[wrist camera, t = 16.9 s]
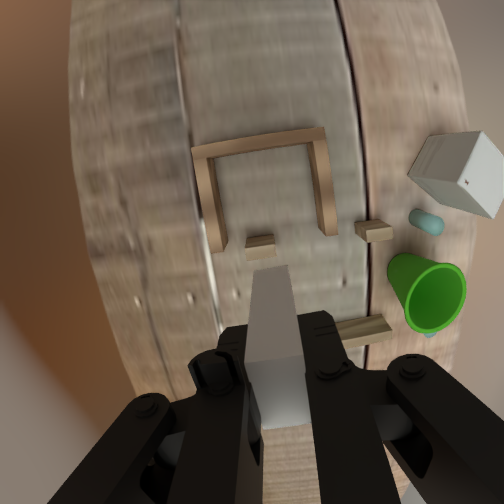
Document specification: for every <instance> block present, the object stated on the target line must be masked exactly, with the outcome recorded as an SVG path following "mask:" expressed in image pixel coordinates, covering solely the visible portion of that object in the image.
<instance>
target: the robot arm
mask: <svg viewBox="0 0 504 504" xmlns="http://www.w3.org/2000/svg"><path fill="white" fill-rule="evenodd" d="M188 368H189V371H190V373H191V376H192V378H193V381H194V383H195V386H196V388H197V391H196V394H195V395H193V396H191V397H188V398H186V399H182V400H178V401H175V402H171V403H170V402H169V400H168V399H167V398H166V396H165V395H162V394H159V393H147V394H143V395H141V396H139V397H137V398H135V399H133V400H132V401H131V402H130V403H129V404H128V405H127V406H126V408H125V409H124V410H123V411H122V412H121V414H120V415H119V416H118V417H117V419H116V420H115V421H114V422H113V423H112V425H111V426H110V427H109V428H108V430H107V431H106V432H105V433H104V434H103V436H102V437H101V438H100V439H99V441H98V442H97V443H96V444H95V446H94V447H93V448H92V449H91V451H90V452H89V453H88V454H87V455H86V457H85V458H84V459H83V460H82V462H81V463H80V464H79V465H78V466H77V468H76V469H75V470H74V471H73V472H72V474H71V475H70V476H69V477H68V479H67V480H66V481H65V482H64V483H63V485H62V486H61V487H60V488H59V490H58V491H57V492H56V493H55V495H54V496H53V497H52V498H51V499H50V501H49V502H48V503H47V504H262V494H263V451H264V443H263V439H262V435H261V423H262V426H263V430H264V429H273V428H281V427H289V426H296V425H303V424H309V423H312V430H313V438H314V446H315V454H316V462H317V470H318V479H319V488H320V497H321V504H401V501H400V498H399V494H398V491H397V487H396V484H395V481H394V477H393V474H392V471H391V468H390V464H389V461H388V458H387V455H386V452H385V449H384V446H383V444H384V445H385V446H386V448H387V449H388V451H389V452H390V453H391V455H392V456H393V458H394V459H395V460H396V462H397V463H398V465H399V466H400V467H401V469H402V470H403V471H404V473H405V474H406V476H407V477H408V478H409V480H410V481H411V483H412V484H413V485H414V487H415V488H416V489H417V491H418V492H419V494H420V495H421V496H422V498H423V499H424V501H425V502H426V503H427V504H504V421H503V420H502V419H501V418H500V417H499V416H497V415H496V414H495V413H494V412H493V411H492V410H491V409H490V408H488V407H487V406H486V405H485V404H484V403H483V402H481V401H480V400H479V399H478V398H477V397H476V396H475V395H473V394H472V393H471V392H470V391H469V390H468V389H466V388H465V387H464V386H463V385H462V384H461V383H459V382H458V381H457V380H456V379H455V378H454V377H452V376H451V375H450V374H449V373H448V372H446V371H445V370H444V369H443V368H442V367H441V366H439V365H438V364H437V363H436V362H435V361H433V360H432V359H430V358H429V357H427V356H425V355H420V354H406V355H403V356H400V357H397V358H396V359H394V360H393V361H391V363H390V364H389V366H388V367H387V370H365V369H361V368H359V367H357V366H355V364H354V363H353V362H352V361H351V360H349V359H348V357H347V354H346V351H345V349H344V346H343V343H342V341H341V338H340V335H339V333H338V330H337V327H336V325H335V322H334V319H333V317H332V316H331V315H330V314H329V313H327V312H326V311H324V310H322V311H317V312H312V313H306V314H301V315H297V314H296V308H295V303H294V297H293V292H292V286H291V281H290V276H289V270H288V265H284V266H278V267H273V268H267V269H262V270H256V271H254V274H253V284H252V293H251V302H250V312H249V321H248V324H246V325H239V326H232V327H227V328H226V329H225V330H224V331H223V332H222V334H221V335H220V336H219V340H218V346H217V349H212V350H207V351H205V352H203V353H200V354H198V355H197V356H196V357H194V358H193V359H192V360H191V361H190V363H189V364H188ZM382 441H383V442H382Z"/></svg>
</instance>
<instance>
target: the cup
mask: <svg viewBox="0 0 504 504" xmlns="http://www.w3.org/2000/svg"><path fill="white" fill-rule="evenodd" d="M387 276H388V279H389V281H390V283H391V285H392V287H393V289H394V291H395V293H396V295H397V297H398V299H399V301H400V303H401V305H402V307H403V309H404V313H405V319H406V321H407V323H408V325H409V326H410V327H411V328H412V329H413V330H415V331H417V332H419V333H425V334H428V333H434V332H437V331H440V330H442V329H443V328H445V327H446V326H448V325H449V324H450V323H451V322H452V321H453V320H454V319H455V318H456V316H457V315H458V314H459V312H460V310H461V308H462V307H463V304H464V301H465V298H466V281H465V278H464V275H463V273H462V272H461V270H460V269H459V268H458V267H457V266H455V265H453V264H450V263H438V262H435V261H432V260H429V259H426V258H422V257H419V256H416V255H413V254H409V253H402V254H399V255H397V256H395V257H394V258H393V259H392V260H391V262H390V264H389V266H388V271H387Z"/></svg>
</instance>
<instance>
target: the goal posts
mask: <svg viewBox="0 0 504 504" xmlns="http://www.w3.org/2000/svg"><path fill="white" fill-rule="evenodd" d="M409 221H410V223H411V224H412V225H413V226H415V227H418V228H420V229H422V230H424V231H426V232H428V233H430V234H432V235H434V236H438V235H440V234H441V233H442V232H443V230H444V221H443V220H442V218H440V217H438V216H435V215H432V214H429V213H427V212H424V211H421V210H418V209H415V210H413V211H412V212H411V213H410V215H409ZM436 333H437V332H434V333H428V334H425V333H423V334H424V335H425V336H426V337H427V338H430V337H433V336H434V335H435V334H436Z"/></svg>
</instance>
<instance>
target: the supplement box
mask: <svg viewBox="0 0 504 504" xmlns="http://www.w3.org/2000/svg"><path fill="white" fill-rule="evenodd" d="M408 177H410V178H411V179H412V180H413V181H414V182H416V183H417V184H418V185H419V186H420V187H421V188H423V189H424V190H425V191H426V192H427V193H428V194H430V195H431V196H432V197H433V198H434V199H435V200H436V201H438V202H439V203H440V204H442V205H446V206H450V207H453V208H457V209H460V210H464V211H467V212H470V213H473V214H477V215H480V216H484V217H487V218H490V219H494V218H495V215H496V213H497V211H498V209H499V207H500V205H501V203H502V201H503V198H504V156H503V155H502V153H501V152H500V151H499V150H498V149H497V147H496V146H495V145H494V144H493V142H492V141H491V140H490V139H489V138H488V137H487V135H486V134H485V133H484V132H483V131H473V132H462V133H452V134H443V135H435V136H429V137H428V138H427V140H426V142H425V144H424V146H423V148H422V150H421V151H420V153H419V155H418V157H417V159H416V161H415V162H414V164H413V166H412V168H411V170H410V172H409V173H408Z"/></svg>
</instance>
